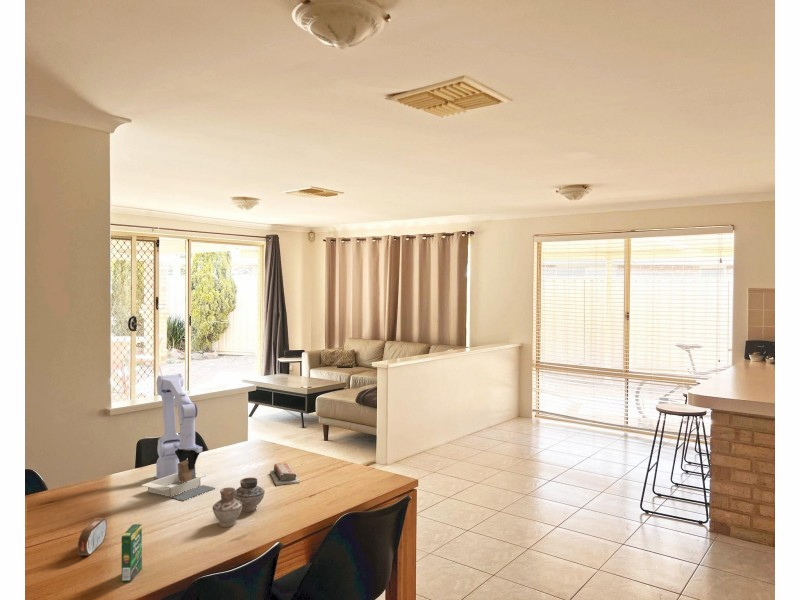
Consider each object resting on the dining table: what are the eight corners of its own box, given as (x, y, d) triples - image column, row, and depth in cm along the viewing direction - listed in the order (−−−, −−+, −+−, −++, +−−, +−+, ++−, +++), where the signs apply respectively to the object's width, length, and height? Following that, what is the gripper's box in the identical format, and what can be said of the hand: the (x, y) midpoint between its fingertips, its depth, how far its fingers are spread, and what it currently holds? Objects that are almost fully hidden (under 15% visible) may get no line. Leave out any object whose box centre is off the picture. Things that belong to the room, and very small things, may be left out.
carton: (141, 493, 226) (141, 484, 226) (184, 478, 245) (184, 470, 245) (163, 499, 220) (163, 490, 220) (205, 483, 239) (206, 475, 239)
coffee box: (131, 582, 157) (131, 535, 157) (120, 583, 157) (120, 535, 157) (142, 568, 165) (142, 523, 165) (132, 568, 165) (132, 523, 165)
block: (178, 480, 227) (177, 463, 227) (188, 476, 232) (187, 459, 231) (185, 482, 225) (184, 465, 225) (195, 477, 230) (194, 460, 229)
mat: (170, 498, 222) (170, 497, 222) (203, 485, 236) (203, 484, 236) (183, 501, 218) (183, 500, 218) (215, 488, 233) (215, 487, 233)
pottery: (205, 528, 194) (205, 493, 194) (242, 502, 218) (242, 470, 218) (235, 531, 191) (235, 496, 191) (269, 505, 216) (270, 473, 216)
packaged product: (269, 463, 253) (291, 460, 257) (269, 474, 253) (291, 471, 257) (276, 475, 237) (300, 472, 240) (276, 486, 237) (300, 484, 240)
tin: (98, 539, 185) (98, 513, 185) (108, 538, 185) (108, 513, 185) (76, 561, 170) (76, 532, 170) (87, 560, 170) (87, 532, 170)
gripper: (166, 434, 228) (166, 468, 229) (192, 438, 222) (192, 473, 222) (181, 430, 235) (181, 463, 235) (206, 434, 228) (206, 468, 228)
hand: (187, 468), depth 229 cm, fingers closed on block, 4 cm apart
